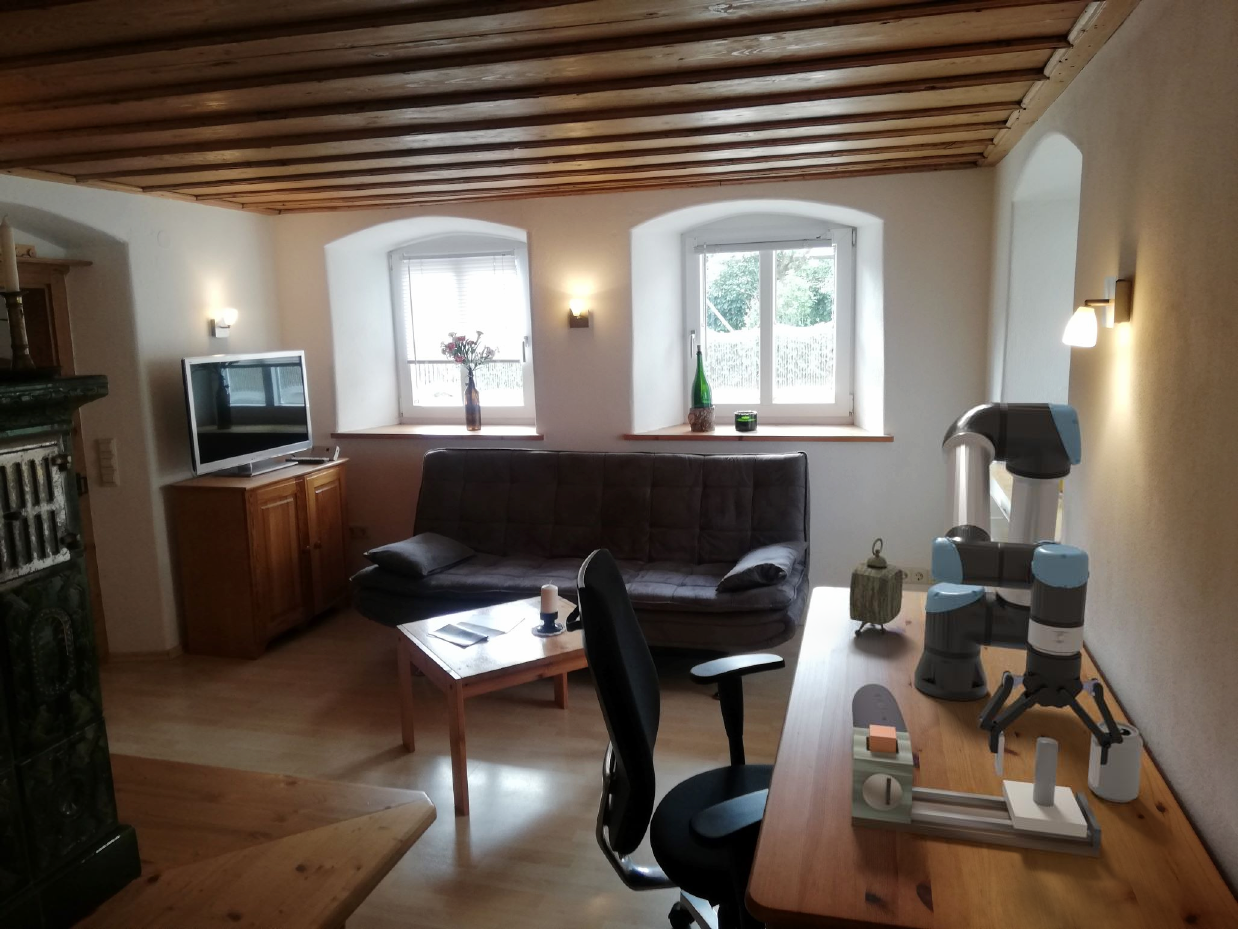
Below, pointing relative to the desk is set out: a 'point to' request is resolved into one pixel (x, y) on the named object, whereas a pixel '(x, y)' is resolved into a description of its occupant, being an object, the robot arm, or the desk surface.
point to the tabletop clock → (875, 591)
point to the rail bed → (945, 805)
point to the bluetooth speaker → (876, 708)
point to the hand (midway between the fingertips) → (1045, 777)
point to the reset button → (882, 739)
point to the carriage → (1044, 798)
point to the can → (1120, 766)
